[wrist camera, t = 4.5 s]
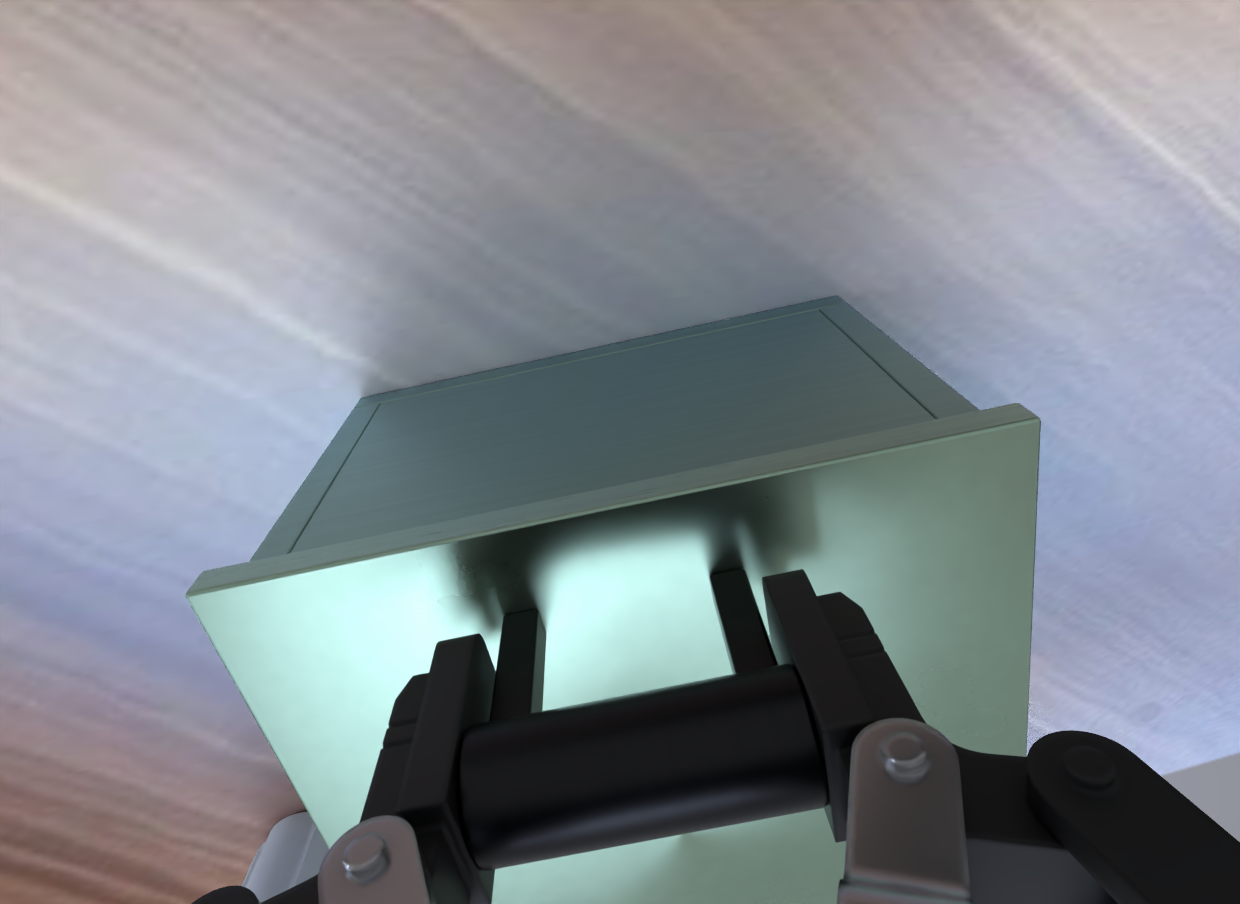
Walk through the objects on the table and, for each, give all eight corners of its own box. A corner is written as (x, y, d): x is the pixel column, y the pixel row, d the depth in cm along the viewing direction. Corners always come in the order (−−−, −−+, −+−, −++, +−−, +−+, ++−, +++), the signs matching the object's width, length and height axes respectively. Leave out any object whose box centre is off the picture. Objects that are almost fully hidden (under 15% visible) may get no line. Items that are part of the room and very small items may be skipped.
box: (360, 397, 25) (219, 601, 15) (838, 294, 24) (1016, 438, 14) (499, 757, 32) (465, 1052, 22) (869, 686, 32) (1001, 957, 22)
